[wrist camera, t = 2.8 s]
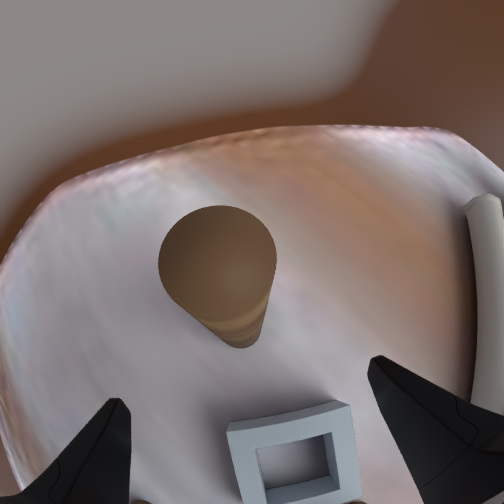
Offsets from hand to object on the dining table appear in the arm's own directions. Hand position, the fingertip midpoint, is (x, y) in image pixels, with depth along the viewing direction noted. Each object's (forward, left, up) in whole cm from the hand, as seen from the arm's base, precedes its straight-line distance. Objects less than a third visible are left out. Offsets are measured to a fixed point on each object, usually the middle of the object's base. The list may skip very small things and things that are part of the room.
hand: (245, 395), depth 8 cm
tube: (-2, -24, -11) cm, 26 cm away
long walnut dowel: (+4, 0, -11) cm, 11 cm away
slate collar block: (-7, -2, -11) cm, 13 cm away
